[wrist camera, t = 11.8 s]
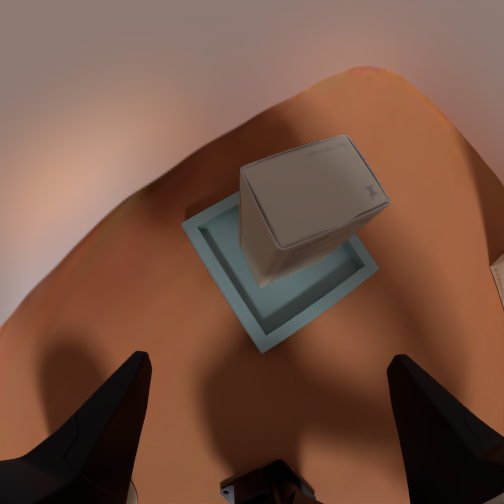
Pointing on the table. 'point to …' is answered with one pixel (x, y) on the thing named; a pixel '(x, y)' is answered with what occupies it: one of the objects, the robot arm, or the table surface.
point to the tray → (281, 292)
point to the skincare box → (304, 206)
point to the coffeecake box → (499, 275)
